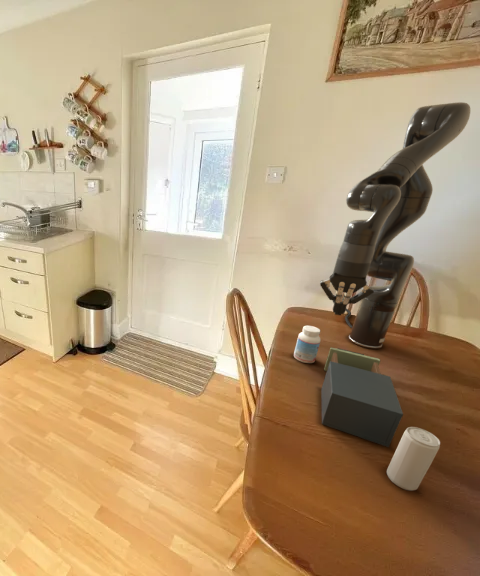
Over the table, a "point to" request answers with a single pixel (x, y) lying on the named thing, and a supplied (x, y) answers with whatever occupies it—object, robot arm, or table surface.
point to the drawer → (353, 360)
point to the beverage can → (412, 458)
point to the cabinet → (360, 403)
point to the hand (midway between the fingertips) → (337, 314)
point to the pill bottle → (307, 344)
